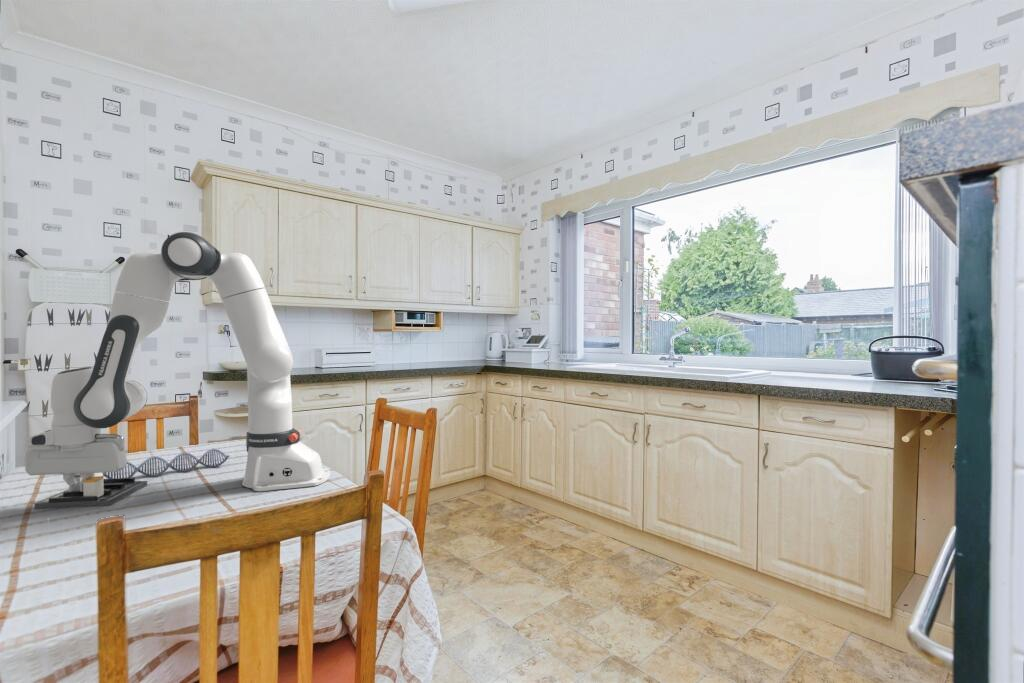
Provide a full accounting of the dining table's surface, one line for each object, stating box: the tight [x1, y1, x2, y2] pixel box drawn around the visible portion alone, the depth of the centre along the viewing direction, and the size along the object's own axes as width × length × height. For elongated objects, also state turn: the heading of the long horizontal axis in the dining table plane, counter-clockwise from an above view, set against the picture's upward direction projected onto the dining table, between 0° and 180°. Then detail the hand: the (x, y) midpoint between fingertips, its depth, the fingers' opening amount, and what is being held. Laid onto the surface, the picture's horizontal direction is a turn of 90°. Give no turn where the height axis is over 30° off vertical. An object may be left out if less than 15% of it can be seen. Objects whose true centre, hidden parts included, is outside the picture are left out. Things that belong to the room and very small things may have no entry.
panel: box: [34, 477, 148, 509], centre depth 123 cm, size 16×15×2 cm
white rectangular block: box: [74, 474, 82, 483], centre depth 123 cm, size 2×3×5 cm
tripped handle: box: [83, 476, 104, 498], centre depth 119 cm, size 2×3×5 cm
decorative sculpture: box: [103, 448, 230, 479], centre depth 142 cm, size 6×31×6 cm, turn 129°
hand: (78, 491), depth 118 cm, fingers closed
